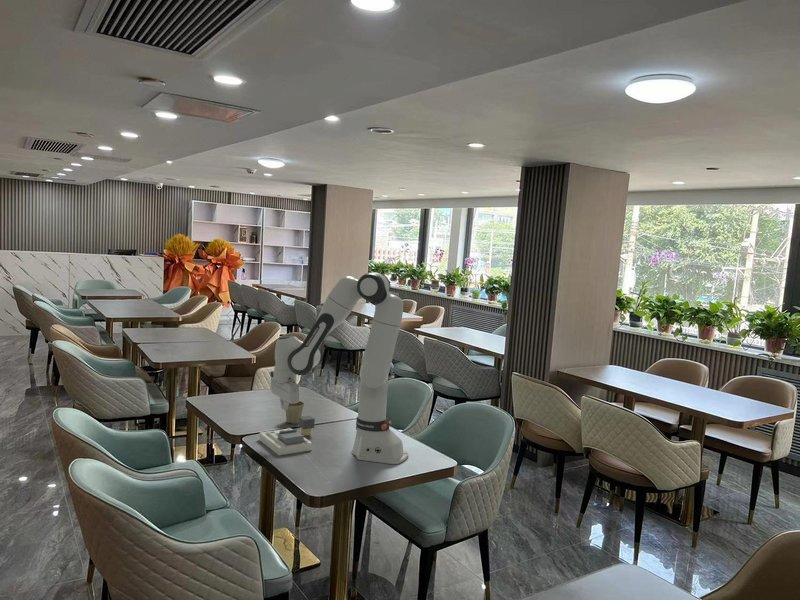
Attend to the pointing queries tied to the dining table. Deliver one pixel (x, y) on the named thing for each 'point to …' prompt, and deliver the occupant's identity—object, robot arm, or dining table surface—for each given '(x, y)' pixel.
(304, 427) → the plug
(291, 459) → the dining table surface
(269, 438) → the socket plate
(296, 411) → the flower pot
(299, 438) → the cover
